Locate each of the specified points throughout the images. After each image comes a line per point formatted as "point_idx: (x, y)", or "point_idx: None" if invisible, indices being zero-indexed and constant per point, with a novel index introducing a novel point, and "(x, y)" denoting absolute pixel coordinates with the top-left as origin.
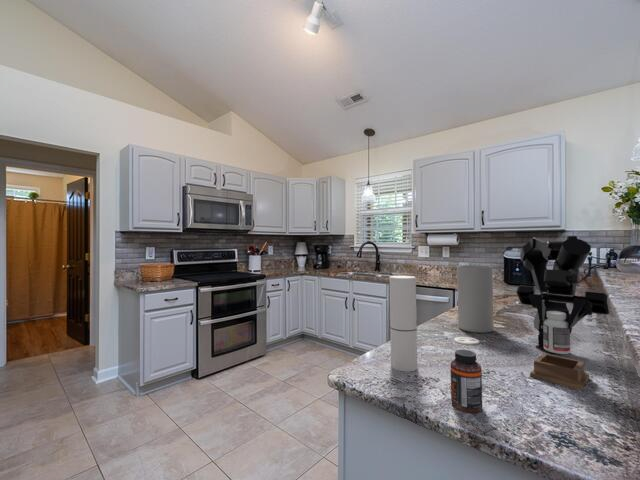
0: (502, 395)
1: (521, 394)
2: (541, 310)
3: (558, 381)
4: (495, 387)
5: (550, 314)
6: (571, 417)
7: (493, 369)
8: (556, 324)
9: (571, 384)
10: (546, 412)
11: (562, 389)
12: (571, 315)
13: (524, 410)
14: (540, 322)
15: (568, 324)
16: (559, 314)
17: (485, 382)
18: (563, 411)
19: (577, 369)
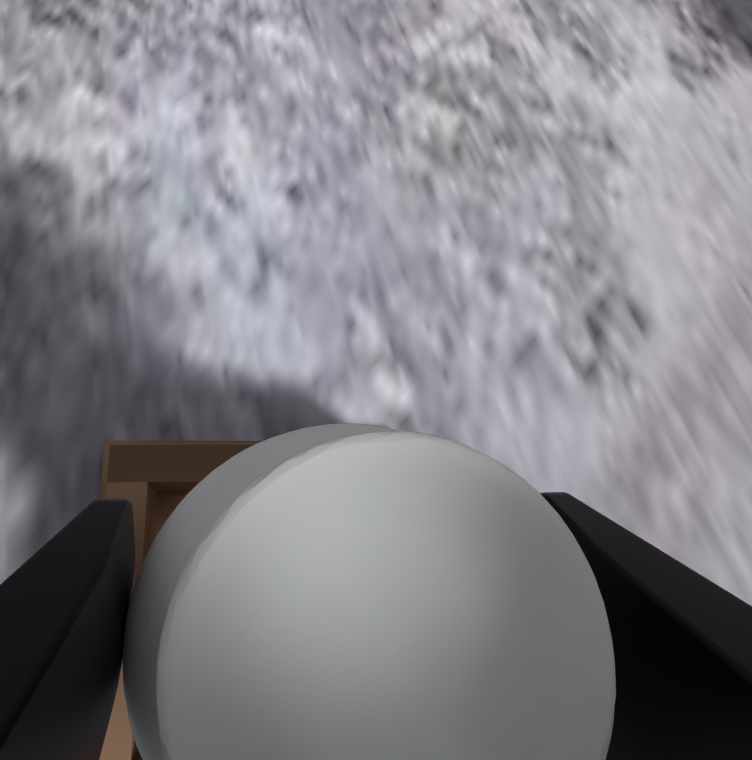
0: (415, 92)
1: (357, 158)
2: (728, 641)
3: (242, 442)
4: (475, 157)
5: (462, 447)
6: (118, 61)
7: (601, 404)
8: (306, 433)
9: (164, 443)
10: (217, 44)
11: (208, 381)
12: (8, 664)
13: (294, 9)
14: (553, 498)
15: (119, 512)
16: (283, 466)
17: (535, 183)
18: (157, 98)
19: (115, 494)
